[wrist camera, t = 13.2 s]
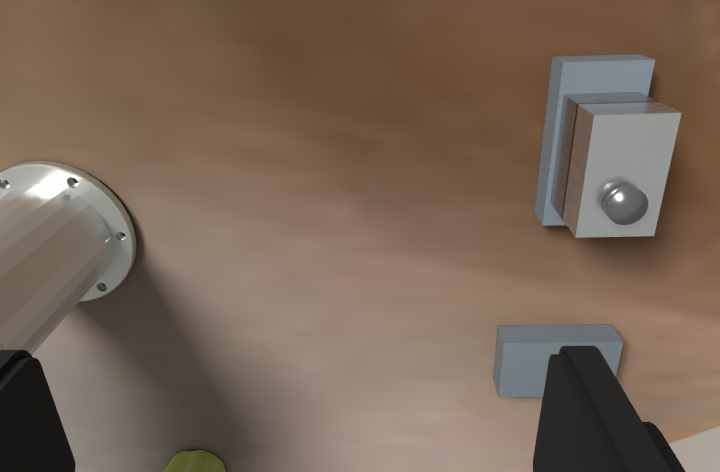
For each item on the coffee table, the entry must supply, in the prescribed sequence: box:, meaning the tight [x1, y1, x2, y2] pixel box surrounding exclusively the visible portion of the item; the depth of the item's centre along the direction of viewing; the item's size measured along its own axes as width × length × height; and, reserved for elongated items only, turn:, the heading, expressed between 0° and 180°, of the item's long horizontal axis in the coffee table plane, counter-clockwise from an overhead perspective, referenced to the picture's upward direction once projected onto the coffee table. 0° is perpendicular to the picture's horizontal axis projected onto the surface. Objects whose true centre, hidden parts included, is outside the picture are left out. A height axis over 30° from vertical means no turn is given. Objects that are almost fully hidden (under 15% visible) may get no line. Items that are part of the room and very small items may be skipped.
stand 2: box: [493, 325, 623, 397], centre depth 49 cm, size 10×6×2 cm, turn 92°
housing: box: [550, 92, 681, 238], centre depth 36 cm, size 8×5×7 cm, turn 2°
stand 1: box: [534, 54, 655, 226], centre depth 40 cm, size 6×12×2 cm, turn 2°
